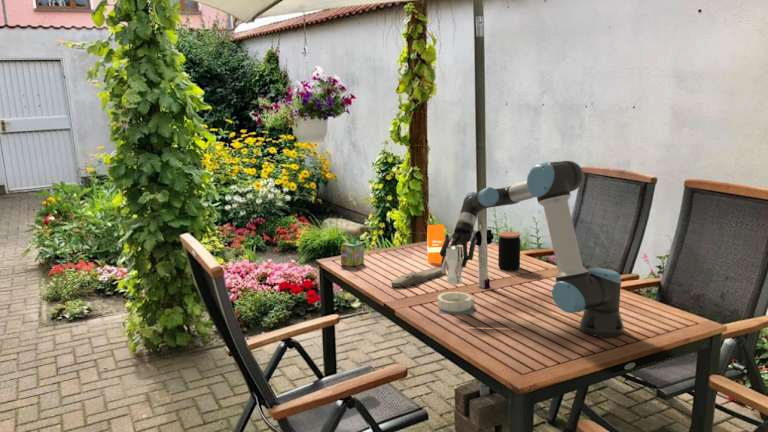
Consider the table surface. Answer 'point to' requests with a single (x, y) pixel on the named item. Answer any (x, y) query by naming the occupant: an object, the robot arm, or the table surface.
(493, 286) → the table surface
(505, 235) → the coffee jar
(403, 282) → the elongated rock
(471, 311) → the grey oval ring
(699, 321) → the table surface
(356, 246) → the green glass canister
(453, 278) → the beer glass
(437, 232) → the orange juice
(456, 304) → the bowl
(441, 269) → the robot arm
